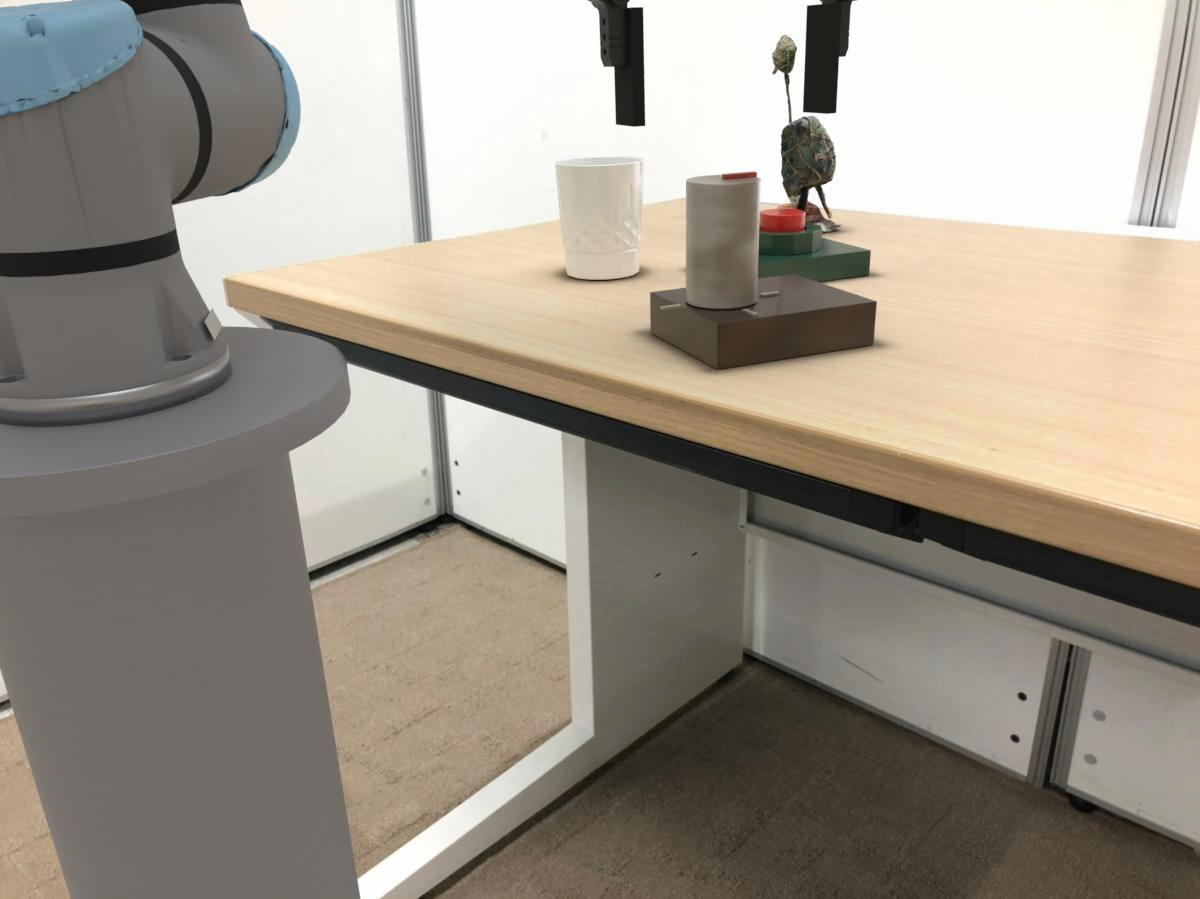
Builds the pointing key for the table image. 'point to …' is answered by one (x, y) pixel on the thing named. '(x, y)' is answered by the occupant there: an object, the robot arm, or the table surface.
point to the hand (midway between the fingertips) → (728, 119)
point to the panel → (766, 323)
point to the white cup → (600, 215)
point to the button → (782, 220)
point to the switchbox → (809, 256)
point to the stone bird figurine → (804, 151)
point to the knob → (722, 240)
